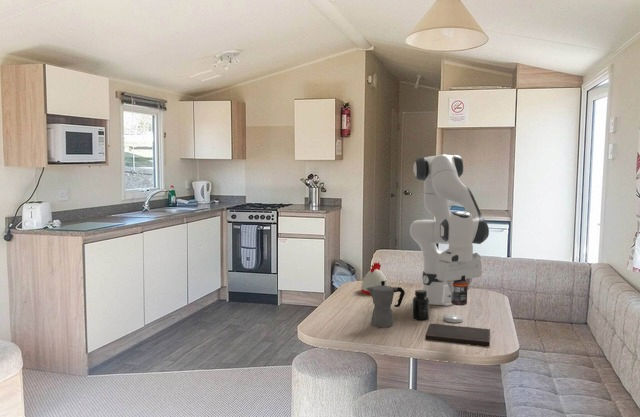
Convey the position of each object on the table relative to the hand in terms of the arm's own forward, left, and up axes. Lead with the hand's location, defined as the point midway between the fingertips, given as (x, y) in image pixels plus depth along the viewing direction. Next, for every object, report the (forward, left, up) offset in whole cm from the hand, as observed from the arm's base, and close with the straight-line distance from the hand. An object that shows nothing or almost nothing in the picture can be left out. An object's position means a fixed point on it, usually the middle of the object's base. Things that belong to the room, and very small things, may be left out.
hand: (459, 290), depth 203 cm
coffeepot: (+15, -26, -18) cm, 35 cm away
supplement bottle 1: (-3, -25, -18) cm, 31 cm away
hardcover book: (0, 0, -19) cm, 19 cm away
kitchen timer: (-14, -73, -18) cm, 76 cm away
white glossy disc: (-14, -17, -18) cm, 28 cm away
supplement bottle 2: (0, 0, -5) cm, 5 cm away
